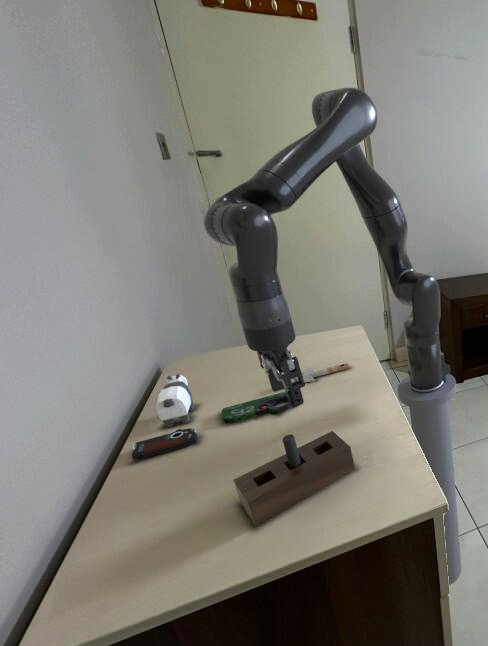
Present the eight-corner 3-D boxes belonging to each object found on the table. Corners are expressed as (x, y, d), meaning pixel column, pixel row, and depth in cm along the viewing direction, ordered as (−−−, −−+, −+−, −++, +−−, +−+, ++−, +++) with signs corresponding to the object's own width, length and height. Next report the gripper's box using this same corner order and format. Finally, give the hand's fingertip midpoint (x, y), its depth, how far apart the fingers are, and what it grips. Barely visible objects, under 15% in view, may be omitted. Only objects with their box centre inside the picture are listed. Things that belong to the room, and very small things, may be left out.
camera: (135, 438, 90) (195, 422, 96) (139, 448, 91) (199, 432, 97) (129, 451, 85) (193, 434, 91) (134, 462, 86) (196, 444, 92)
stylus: (304, 480, 81) (291, 432, 77) (308, 485, 80) (295, 437, 76) (293, 486, 80) (280, 437, 75) (298, 491, 79) (284, 442, 74)
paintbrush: (274, 376, 115) (346, 359, 126) (276, 384, 116) (347, 367, 127) (276, 381, 112) (349, 364, 123) (278, 390, 113) (350, 371, 124)
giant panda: (190, 424, 99) (178, 391, 95) (162, 431, 97) (148, 397, 93) (199, 396, 111) (189, 366, 107) (174, 401, 108) (163, 371, 105)
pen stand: (241, 503, 76) (232, 479, 74) (337, 452, 89) (332, 430, 87) (256, 527, 71) (247, 502, 69) (355, 469, 84) (350, 446, 82)
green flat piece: (221, 426, 96) (221, 406, 103) (223, 431, 96) (223, 411, 104) (296, 405, 104) (291, 388, 112) (297, 409, 105) (292, 392, 112)
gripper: (305, 322, 68) (324, 402, 74) (273, 304, 77) (292, 377, 83) (257, 337, 63) (282, 421, 69) (229, 316, 72) (253, 392, 78)
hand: (287, 397), depth 76 cm, fingers open, 8 cm apart
